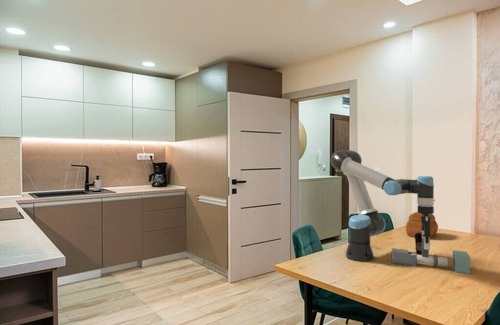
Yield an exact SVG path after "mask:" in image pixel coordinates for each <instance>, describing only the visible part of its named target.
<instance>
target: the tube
mask: <svg viewBox="0 0 500 325" xmlns="http://www.w3.org/2000/svg"><path fill="white" fill-rule="evenodd" d="M429 251H430V250H427V249H424V238H422V255H417V264H418V263H419V264H427V265H433V267H438V266H445V267H448V266H449V263H448V262H449V261H448V259H449V258H448V257H440V256H438V255H437V254H434V255H432V256H431V255H429V254H430V252H429ZM411 255H415V254H411Z"/></svg>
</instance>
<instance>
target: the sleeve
mask: <svg viewBox="0 0 500 325" xmlns="http://www.w3.org/2000/svg"><path fill="white" fill-rule="evenodd" d="M411 254H415V255H411ZM391 264H393V265H400V266H401V265H402V266H408V267H409V266H410V267H418V263H417V255H416V251H409V250H408V249H402V248H391Z"/></svg>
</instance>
